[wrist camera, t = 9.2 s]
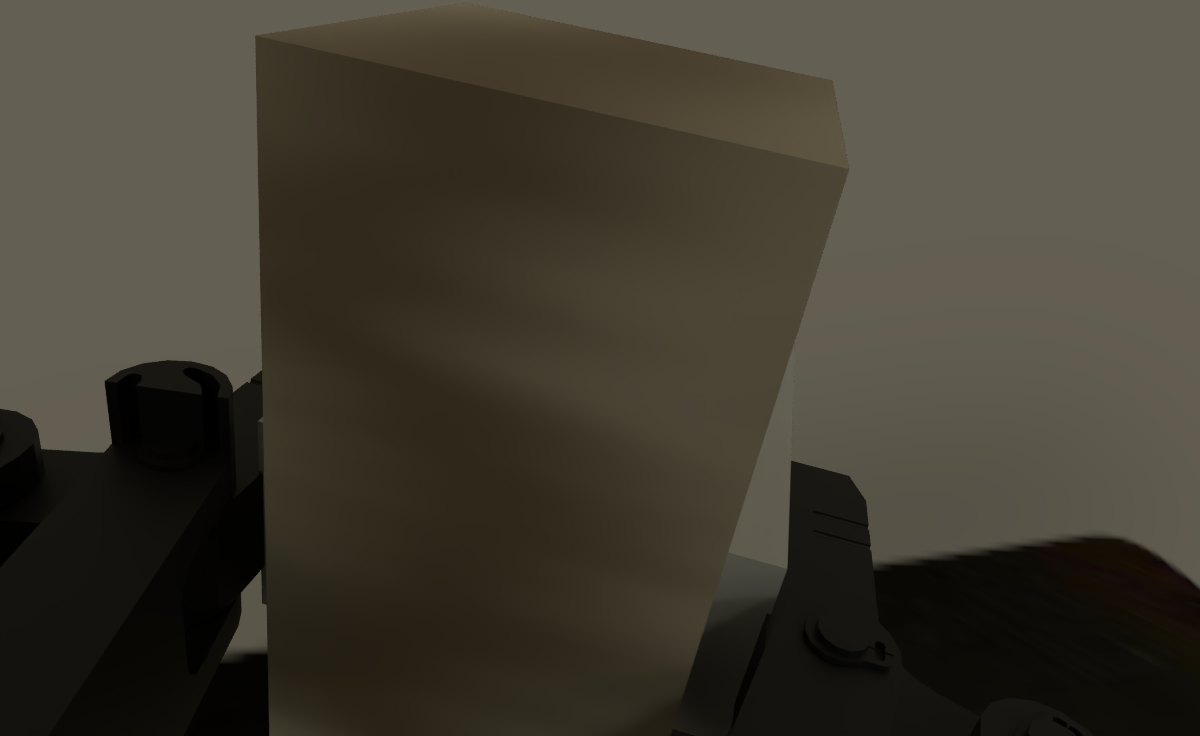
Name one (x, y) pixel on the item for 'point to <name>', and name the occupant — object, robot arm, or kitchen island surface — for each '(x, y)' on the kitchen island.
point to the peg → (517, 361)
